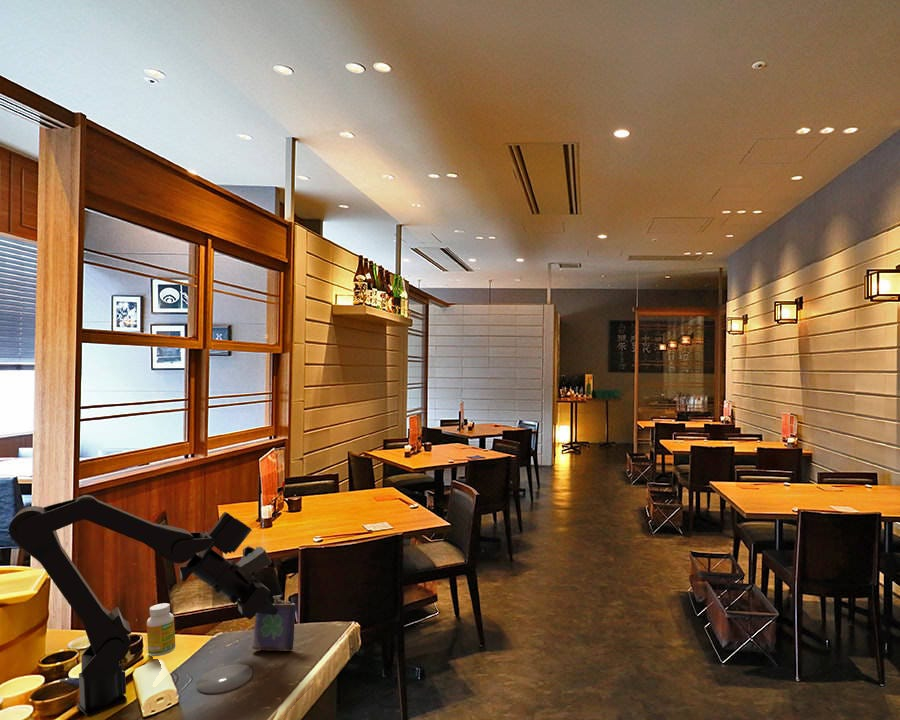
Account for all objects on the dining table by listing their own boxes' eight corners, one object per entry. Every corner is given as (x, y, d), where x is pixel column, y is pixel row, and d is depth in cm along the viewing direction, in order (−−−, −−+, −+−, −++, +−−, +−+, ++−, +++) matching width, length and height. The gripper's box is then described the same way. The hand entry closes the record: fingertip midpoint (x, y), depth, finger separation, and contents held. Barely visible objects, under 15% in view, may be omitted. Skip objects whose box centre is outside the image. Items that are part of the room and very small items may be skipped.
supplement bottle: (164, 657, 125) (162, 611, 126) (142, 656, 126) (140, 611, 127) (180, 646, 131) (178, 601, 131) (159, 645, 132) (157, 601, 132)
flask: (249, 649, 124) (255, 595, 128) (256, 648, 126) (262, 594, 130) (289, 651, 122) (294, 595, 126) (296, 649, 125) (300, 595, 128)
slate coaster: (211, 699, 106) (211, 696, 106) (187, 683, 113) (187, 680, 113) (262, 676, 113) (261, 673, 114) (236, 662, 120) (236, 659, 120)
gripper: (256, 546, 115) (314, 589, 120) (235, 530, 131) (287, 568, 136) (216, 598, 110) (279, 640, 116) (199, 574, 126) (255, 612, 132)
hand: (276, 612), depth 125 cm, fingers closed
